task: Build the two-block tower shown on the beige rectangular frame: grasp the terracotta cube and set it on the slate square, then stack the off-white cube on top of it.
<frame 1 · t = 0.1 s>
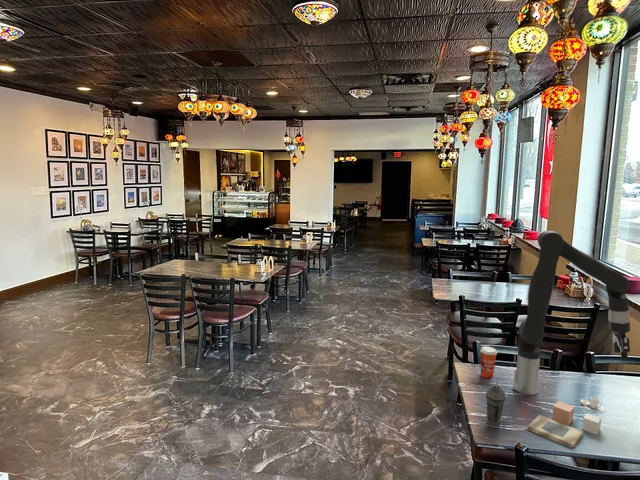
hand: (620, 356, 185), 22 cm above the table, tool pointing down, fingers open, 8 cm apart
teacup and saucer: (590, 404, 189), on the table
white cube: (591, 429, 169), on the table
terracotta cube: (562, 420, 175), on the table
beige rectangular frame: (554, 432, 166), on the table
beverage cup: (493, 423, 172), on the table
paper cup: (486, 376, 214), on the table
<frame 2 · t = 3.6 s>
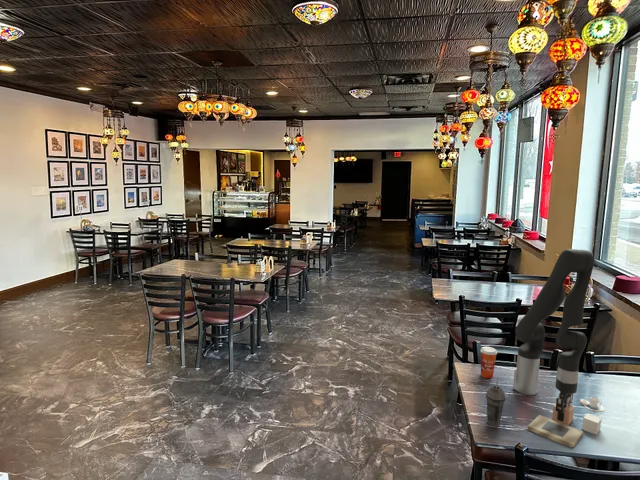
hand: (562, 417, 175), 1 cm above the table, tool pointing down, fingers closed on terracotta cube, 6 cm apart
terracotta cube: (562, 419, 175), on the table, touching gripper
everything else where it was.
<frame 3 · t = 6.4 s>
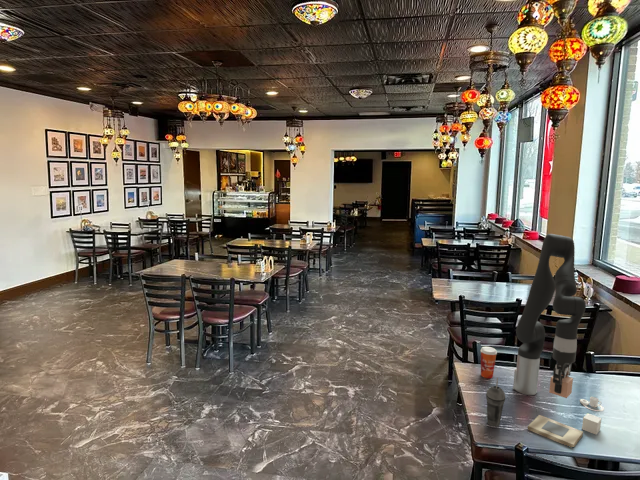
hand: (560, 389, 164), 18 cm above the table, tool pointing down, fingers closed on terracotta cube, 6 cm apart
terracotta cube: (560, 392, 164), point 17 cm above the table, touching gripper
everything else where it was.
when the fingers open (4 cm above the table, at t = 9.5 s): terracotta cube drops 1 cm, resting on beige rectangular frame.
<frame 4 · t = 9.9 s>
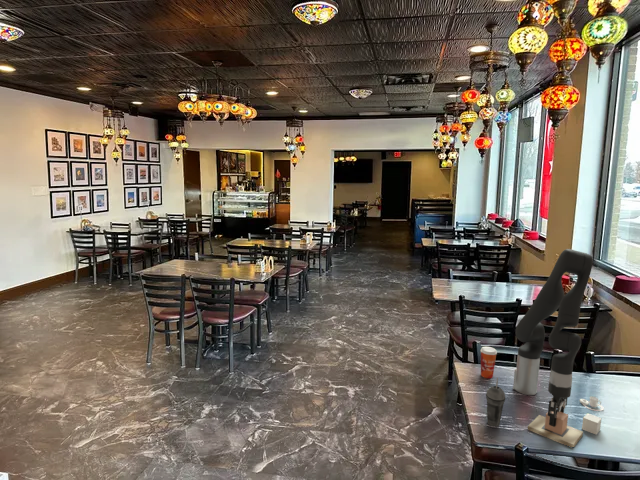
hand: (556, 421, 166), 5 cm above the table, tool pointing down, fingers open, 8 cm apart
terracotta cube: (555, 428, 166), point 2 cm above the table, touching beige rectangular frame
everything else where it was.
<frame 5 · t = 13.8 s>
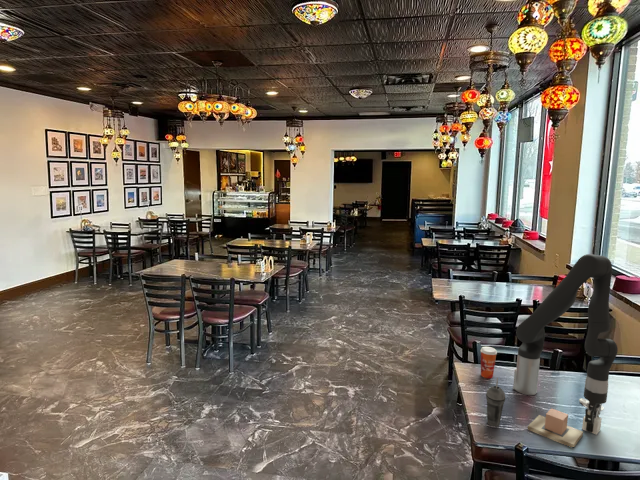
hand: (591, 428, 169), 0 cm above the table, tool pointing down, fingers closed on white cube, 5 cm apart
white cube: (591, 429, 169), on the table, touching gripper
everything else where it was.
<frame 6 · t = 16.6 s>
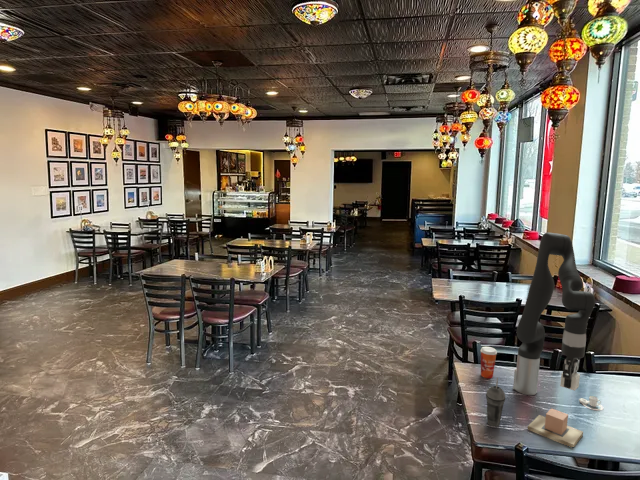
hand: (569, 384, 164), 19 cm above the table, tool pointing down, fingers closed on white cube, 5 cm apart
white cube: (569, 386, 164), point 19 cm above the table, touching gripper
when the fingers open (9 cm above the table, at t = 19.2 s): white cube drops 1 cm, resting on terracotta cube.
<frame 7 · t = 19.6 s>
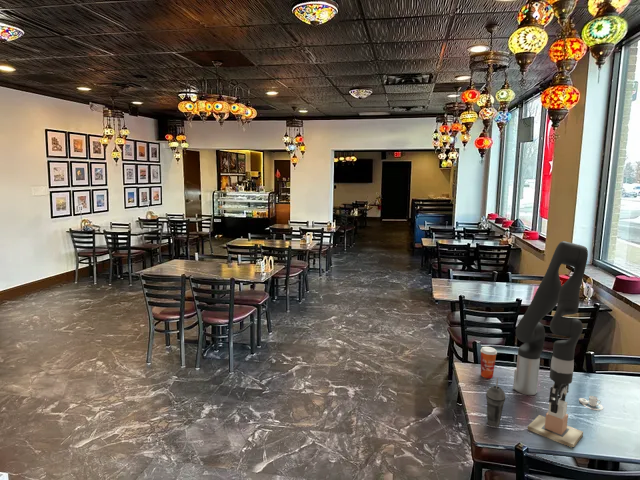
hand: (557, 408, 165), 10 cm above the table, tool pointing down, fingers open, 8 cm apart
white cube: (557, 414, 165), point 8 cm above the table, touching terracotta cube
terracotta cube: (555, 428, 166), point 2 cm above the table, touching beige rectangular frame, white cube
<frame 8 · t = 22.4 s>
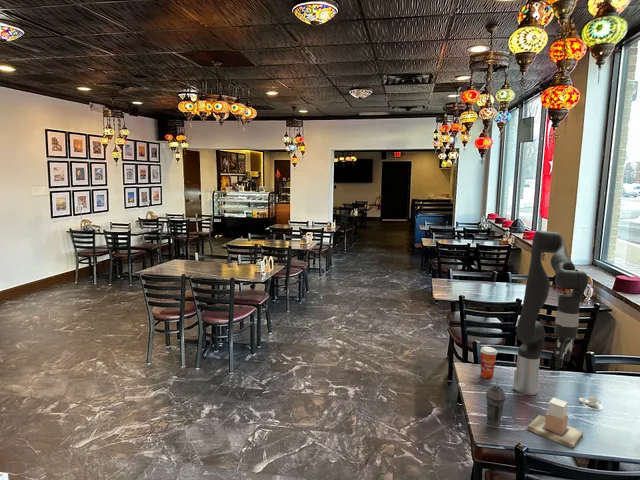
hand: (562, 363, 162), 28 cm above the table, tool pointing down, fingers open, 8 cm apart
at the end: terracotta cube 0.1 cm off-centre on the beige rectangular frame, point 1.6 cm above the beige rectangular frame's base; white cube 0.1 cm off-centre on the terracotta cube, point 6.0 cm above the terracotta cube's base; white cube tilted 0° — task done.
